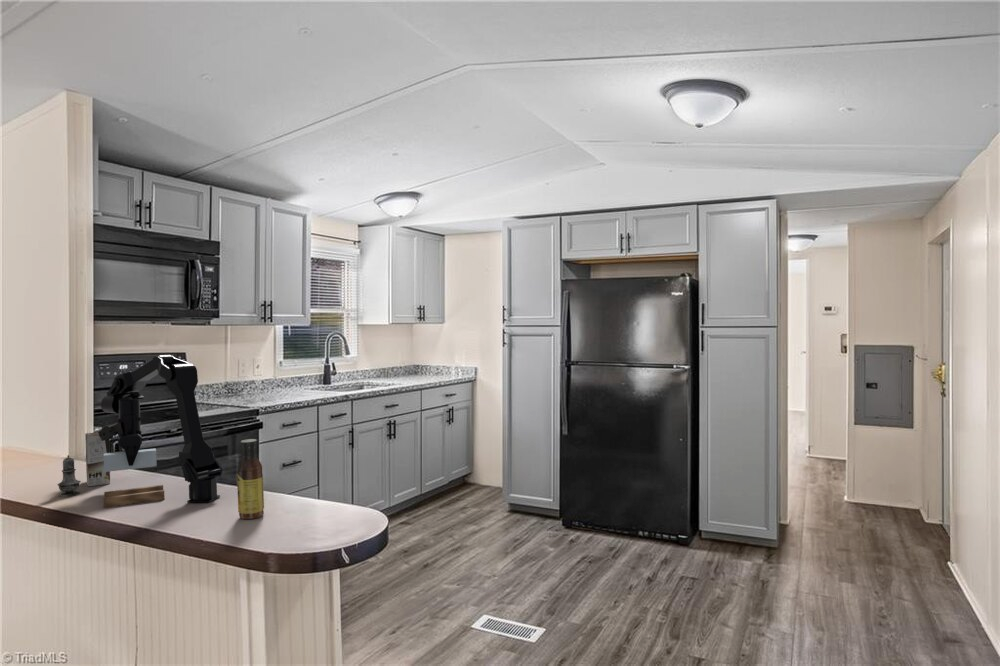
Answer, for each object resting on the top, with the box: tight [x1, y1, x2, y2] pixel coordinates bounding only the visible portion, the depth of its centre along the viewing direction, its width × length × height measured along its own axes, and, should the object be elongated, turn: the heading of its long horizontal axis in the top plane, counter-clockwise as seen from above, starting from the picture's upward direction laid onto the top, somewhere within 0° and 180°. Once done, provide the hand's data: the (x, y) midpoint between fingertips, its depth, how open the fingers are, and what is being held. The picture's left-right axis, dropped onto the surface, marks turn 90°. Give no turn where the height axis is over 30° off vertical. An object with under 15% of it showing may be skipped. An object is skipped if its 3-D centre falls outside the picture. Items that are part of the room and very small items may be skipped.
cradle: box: [102, 484, 165, 509], centre depth 186 cm, size 15×9×2 cm, turn 120°
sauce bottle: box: [236, 438, 265, 520], centre depth 166 cm, size 6×6×20 cm
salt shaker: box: [56, 454, 82, 498], centre depth 195 cm, size 6×6×12 cm
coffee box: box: [84, 431, 111, 487], centre depth 210 cm, size 9×6×16 cm
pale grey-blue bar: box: [104, 447, 157, 473], centre depth 200 cm, size 14×4×5 cm, turn 120°
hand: (130, 464), depth 200 cm, fingers closed on pale grey-blue bar, 4 cm apart
